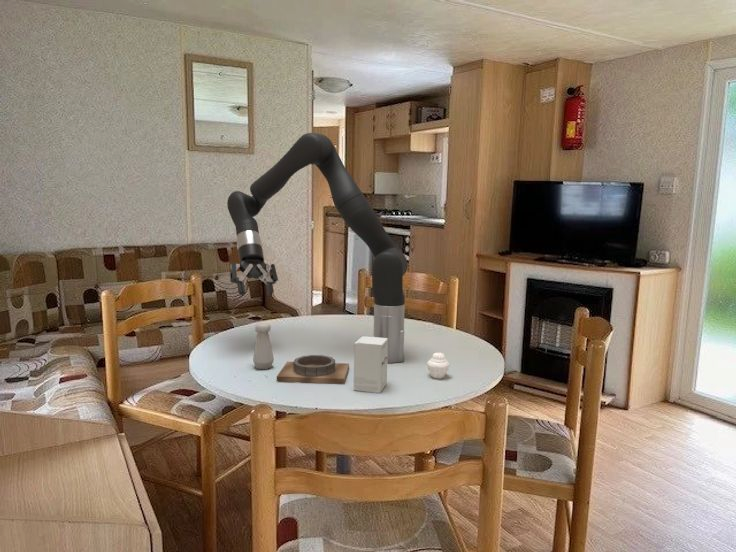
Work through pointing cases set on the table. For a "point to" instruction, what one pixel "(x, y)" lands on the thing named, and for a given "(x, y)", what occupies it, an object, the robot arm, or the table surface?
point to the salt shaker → (263, 347)
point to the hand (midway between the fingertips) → (256, 294)
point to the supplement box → (370, 364)
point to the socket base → (314, 370)
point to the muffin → (438, 365)
